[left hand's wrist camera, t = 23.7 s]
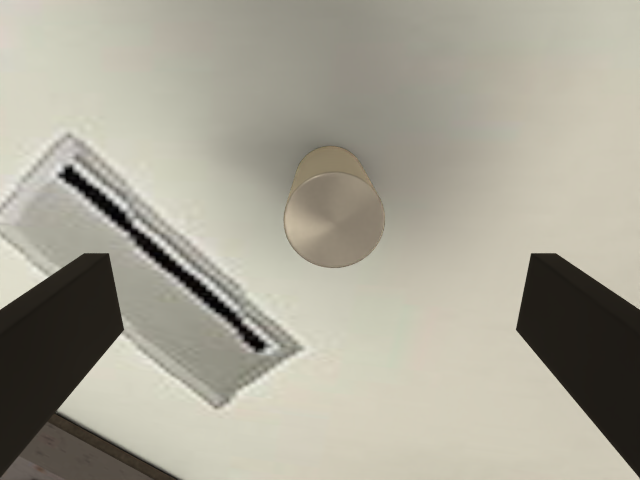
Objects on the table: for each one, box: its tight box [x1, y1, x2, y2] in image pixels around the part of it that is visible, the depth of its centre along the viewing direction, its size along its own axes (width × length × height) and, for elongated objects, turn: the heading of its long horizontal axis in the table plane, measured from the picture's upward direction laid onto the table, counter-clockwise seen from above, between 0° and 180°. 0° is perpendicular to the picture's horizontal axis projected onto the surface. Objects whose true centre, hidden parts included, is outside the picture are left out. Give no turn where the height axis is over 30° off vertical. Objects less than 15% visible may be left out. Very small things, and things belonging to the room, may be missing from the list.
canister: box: [284, 146, 385, 268], centre depth 28 cm, size 6×6×11 cm
